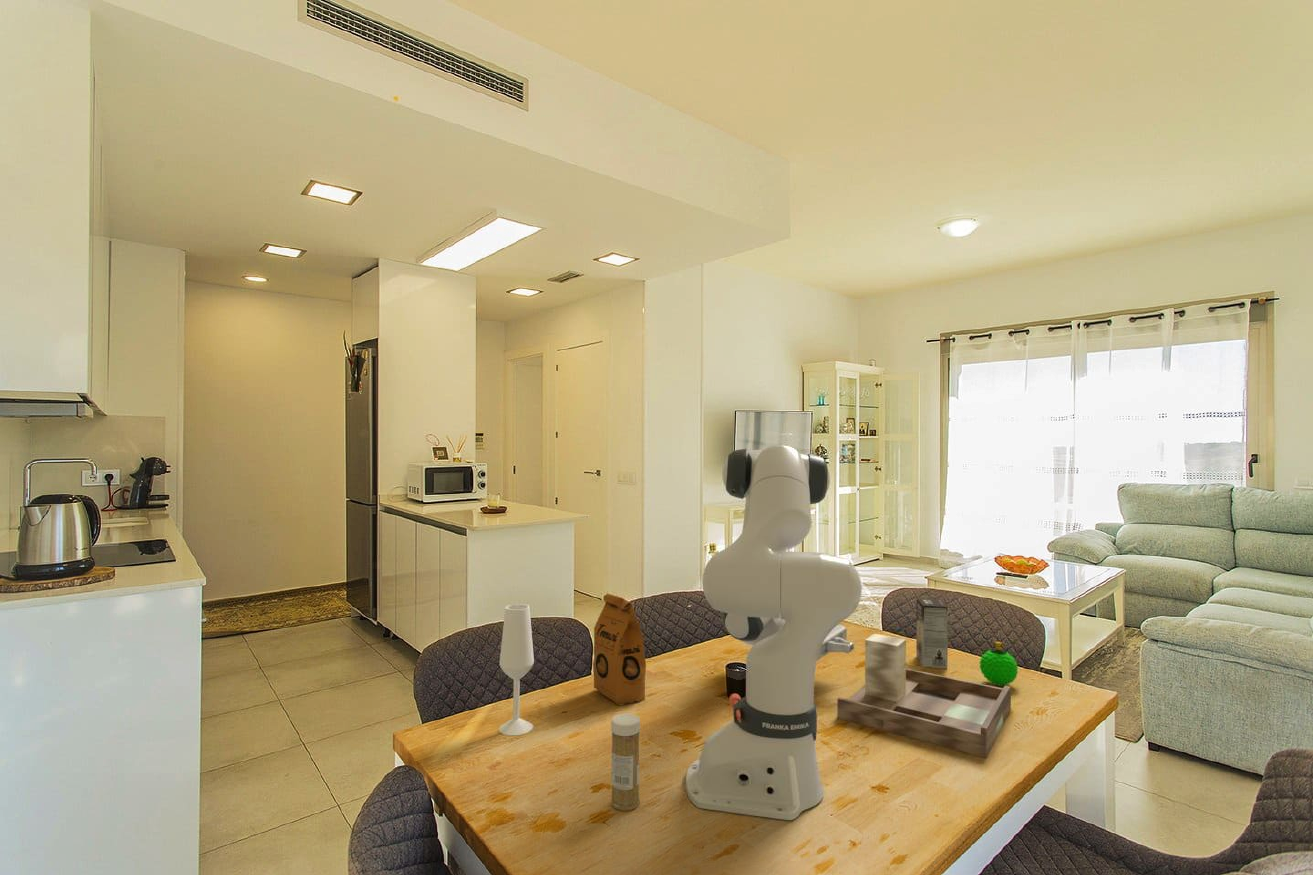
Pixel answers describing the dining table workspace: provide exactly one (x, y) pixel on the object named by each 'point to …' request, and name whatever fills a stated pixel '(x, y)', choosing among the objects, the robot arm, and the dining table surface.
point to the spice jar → (625, 761)
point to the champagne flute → (516, 659)
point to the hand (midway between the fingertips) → (851, 648)
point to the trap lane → (935, 711)
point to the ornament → (998, 666)
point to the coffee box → (932, 632)
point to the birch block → (885, 667)
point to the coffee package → (619, 652)
